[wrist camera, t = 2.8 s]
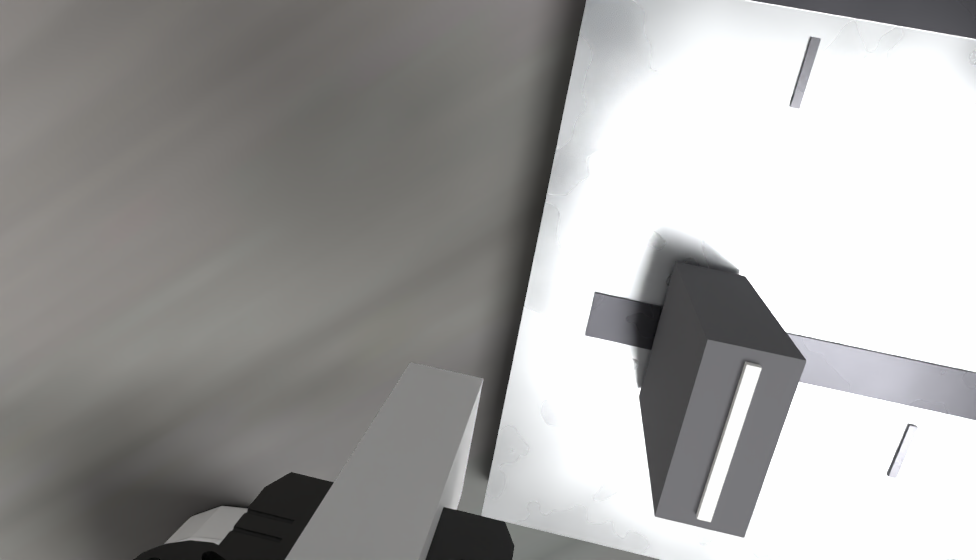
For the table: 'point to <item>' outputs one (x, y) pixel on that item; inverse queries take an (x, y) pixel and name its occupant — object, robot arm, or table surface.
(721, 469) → the fader tab
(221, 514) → the white cup
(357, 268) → the table surface
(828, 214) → the console
